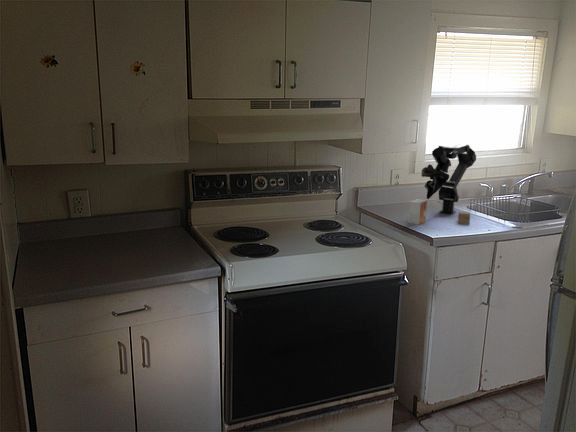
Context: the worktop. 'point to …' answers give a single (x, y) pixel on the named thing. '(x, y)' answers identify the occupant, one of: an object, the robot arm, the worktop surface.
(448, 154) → the robot arm
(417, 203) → the small box
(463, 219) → the walnut block
